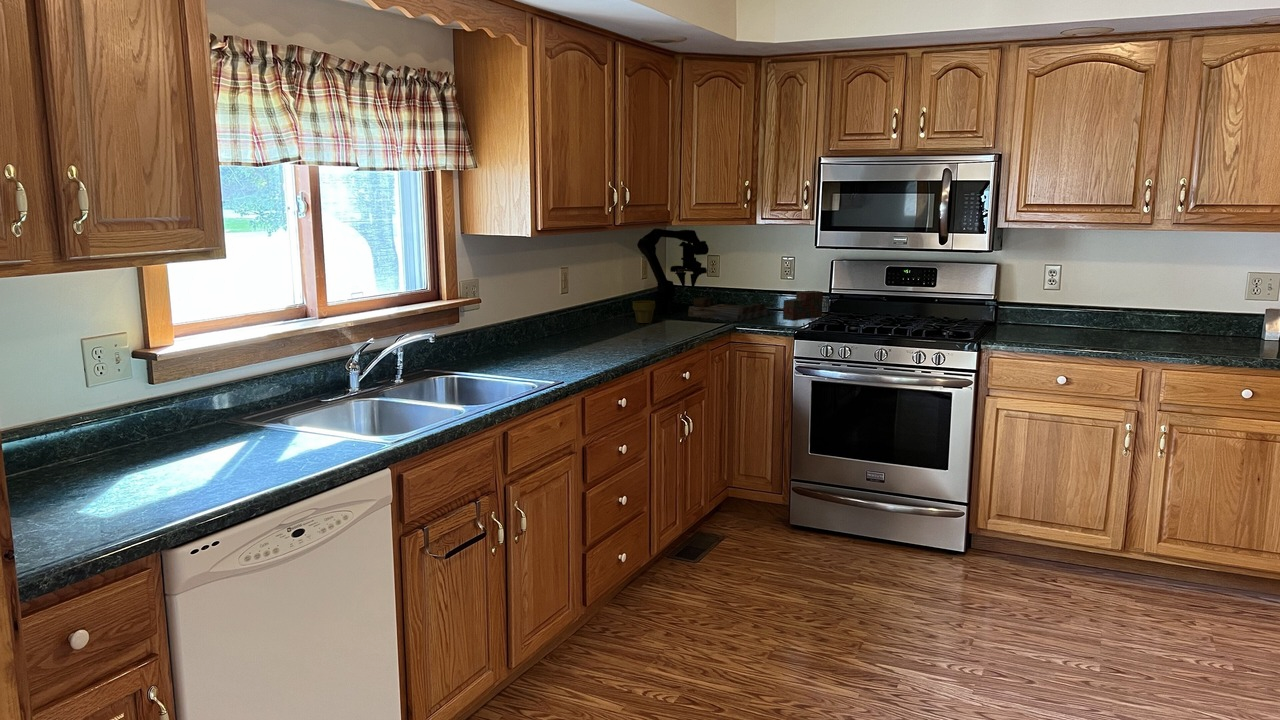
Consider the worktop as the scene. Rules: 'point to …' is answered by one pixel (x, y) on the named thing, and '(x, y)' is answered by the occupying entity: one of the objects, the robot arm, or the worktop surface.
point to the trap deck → (730, 312)
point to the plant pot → (644, 311)
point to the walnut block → (702, 302)
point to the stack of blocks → (803, 306)
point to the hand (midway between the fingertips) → (688, 287)
